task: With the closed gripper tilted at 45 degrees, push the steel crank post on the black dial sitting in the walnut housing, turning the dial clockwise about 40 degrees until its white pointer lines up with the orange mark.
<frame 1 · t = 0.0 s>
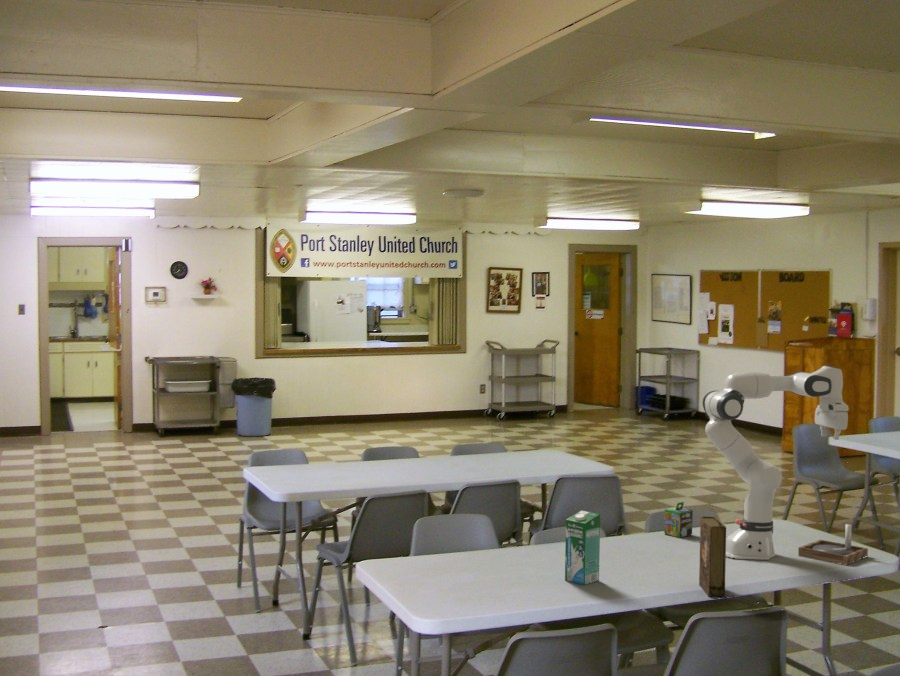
hand: (830, 438, 408), 48 cm above the table, tool pointing down, fingers open, 8 cm apart
milk carton: (581, 581, 363), on the table
dial: (833, 538, 403), point 7 cm above the table, hinge at 0.0°
dial housing: (832, 556, 403), on the table
chalk box: (678, 535, 438), on the table
book: (711, 591, 352), on the table
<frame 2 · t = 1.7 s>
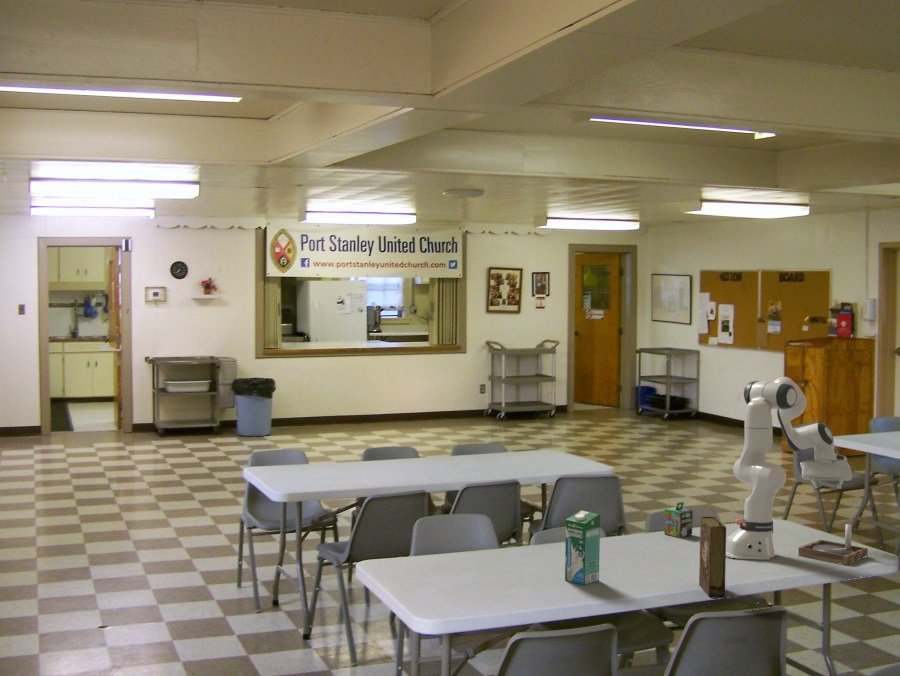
hand: (827, 487, 420), 25 cm above the table, tool tilted 45°, fingers open, 8 cm apart
nothing on the table moved.
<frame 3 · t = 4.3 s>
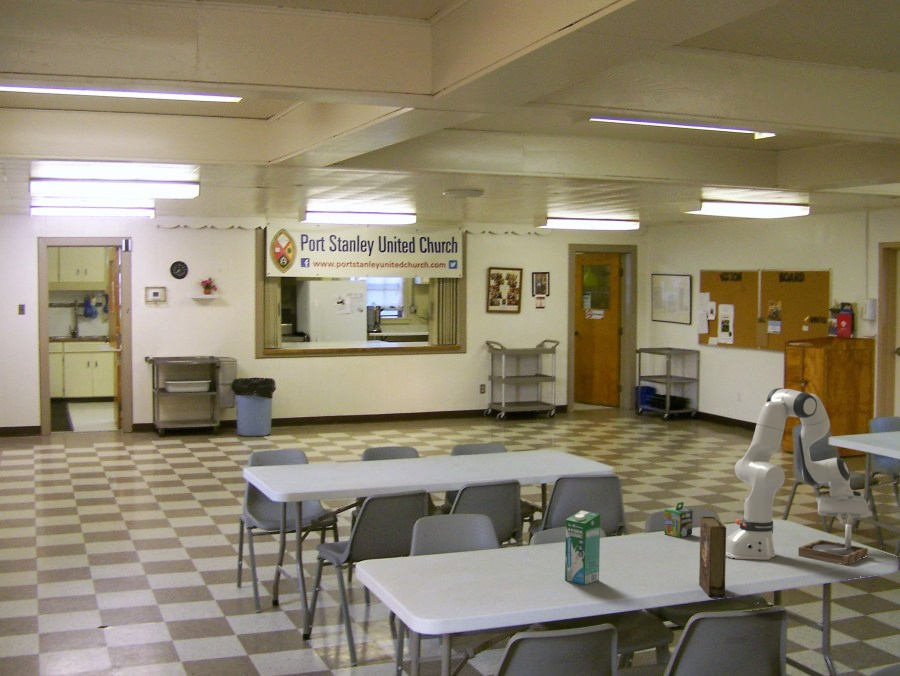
hand: (844, 524, 412), 11 cm above the table, tool tilted 45°, fingers closed
nothing on the table moved.
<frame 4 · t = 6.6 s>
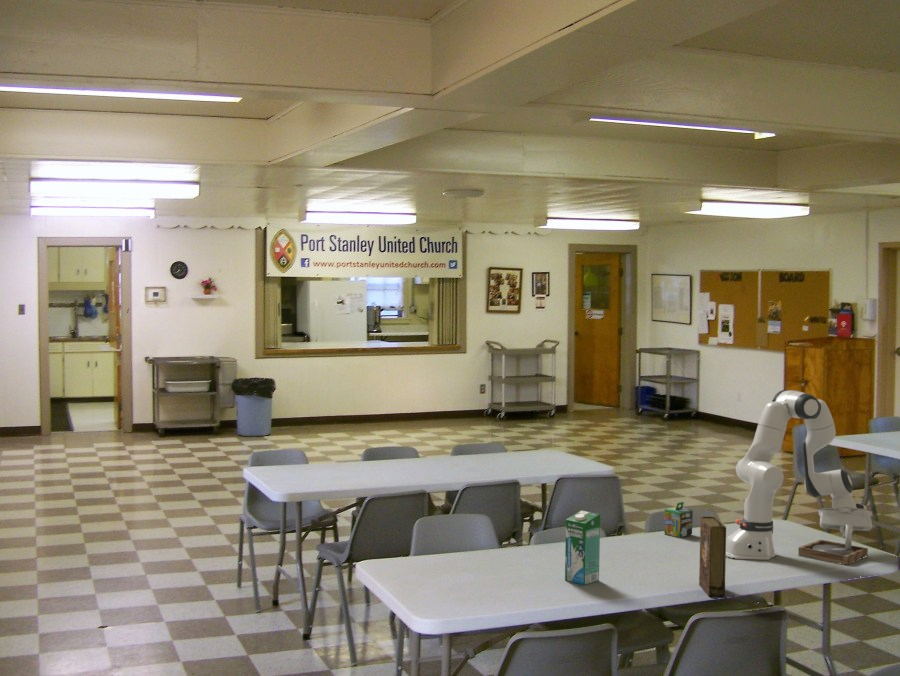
hand: (847, 537, 406), 7 cm above the table, tool tilted 45°, fingers closed, pressing on dial
dial: (833, 538, 403), point 7 cm above the table, hinge at 1.3°, touching gripper
everything else where it was.
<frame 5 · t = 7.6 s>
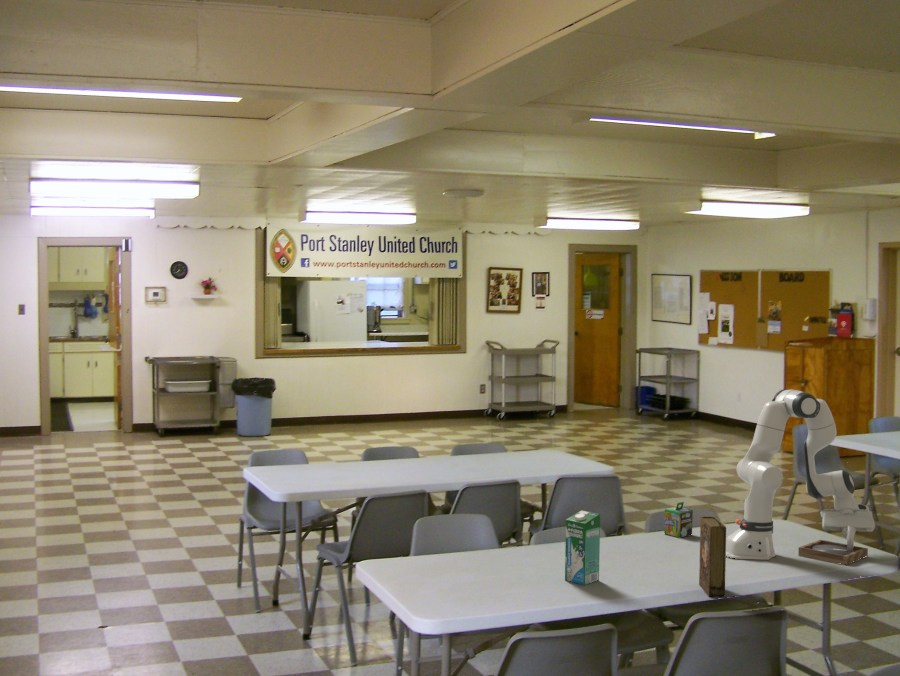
hand: (850, 539, 403), 7 cm above the table, tool tilted 45°, fingers closed, pressing on dial
dial: (833, 538, 403), point 7 cm above the table, hinge at 25.5°, touching gripper
everything else where it was.
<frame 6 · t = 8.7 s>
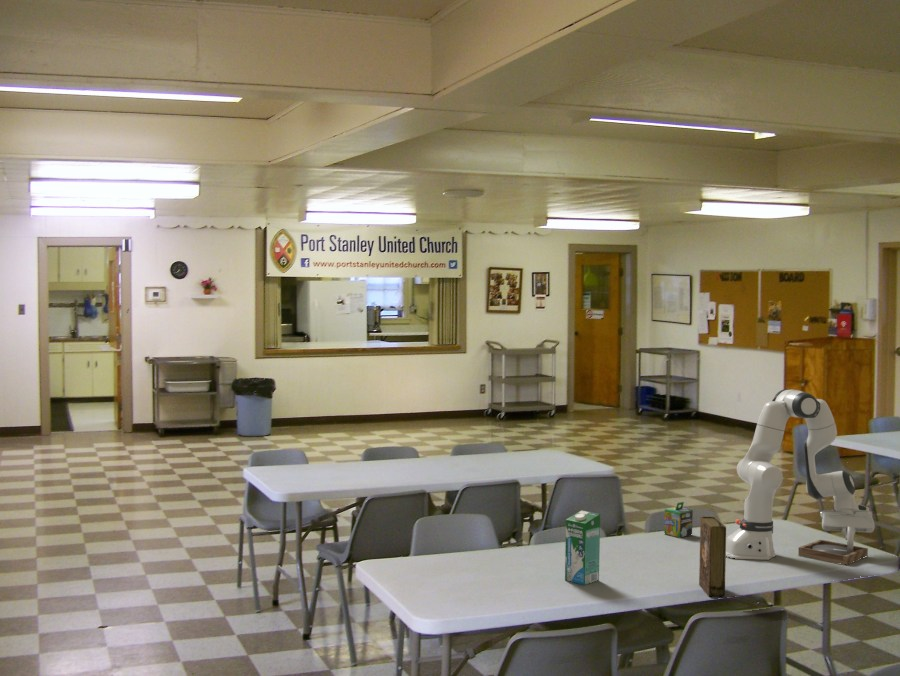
hand: (849, 539, 402), 7 cm above the table, tool tilted 45°, fingers closed
dial: (833, 538, 403), point 7 cm above the table, hinge at 37.6°
everything else where it was.
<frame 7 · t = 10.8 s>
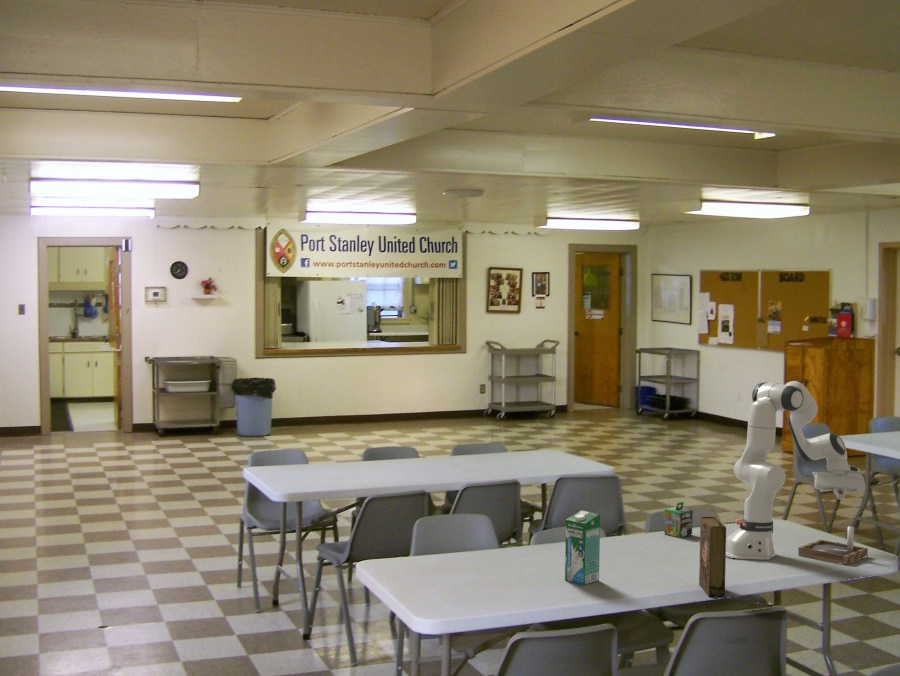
hand: (840, 498, 415), 22 cm above the table, tool tilted 45°, fingers closed
nothing on the table moved.
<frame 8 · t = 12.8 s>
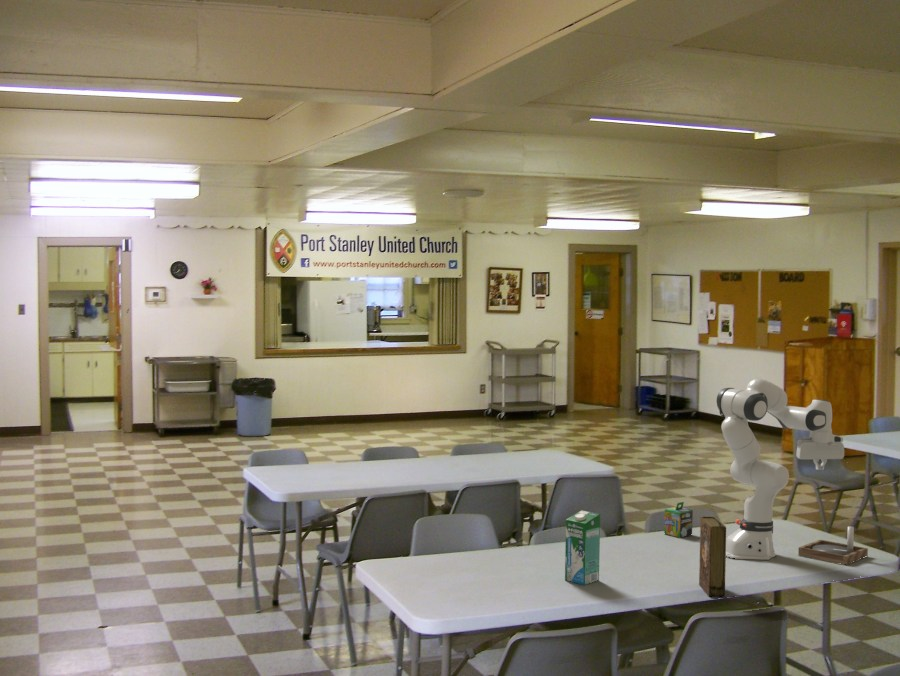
hand: (819, 469, 418), 33 cm above the table, tool pointing down, fingers closed
nothing on the table moved.
at the end: dial at +38° (first picture: +0°) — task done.
